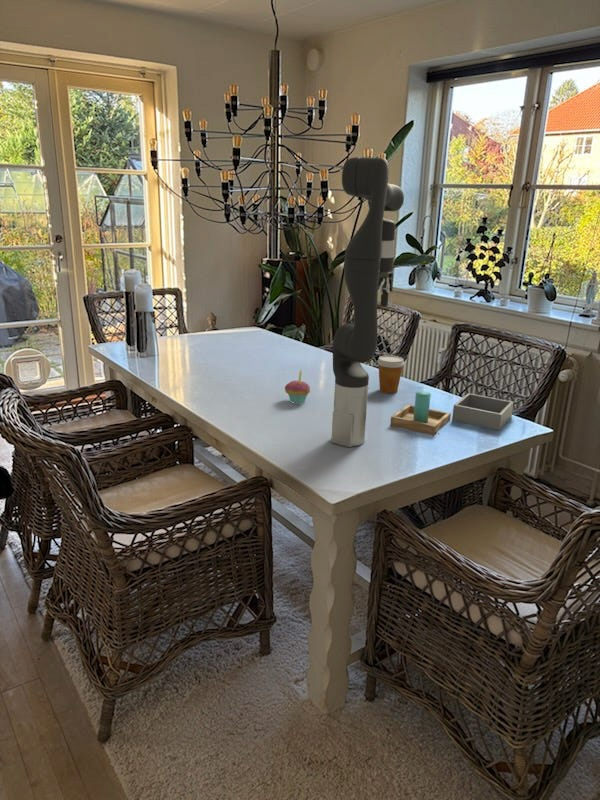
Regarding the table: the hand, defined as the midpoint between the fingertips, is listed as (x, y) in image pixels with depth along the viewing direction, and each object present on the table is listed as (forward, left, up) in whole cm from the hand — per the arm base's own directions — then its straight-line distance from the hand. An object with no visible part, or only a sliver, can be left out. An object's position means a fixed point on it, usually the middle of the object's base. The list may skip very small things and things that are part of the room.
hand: (378, 308), depth 191 cm
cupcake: (-10, +23, -33) cm, 42 cm away
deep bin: (+9, -34, -33) cm, 48 cm away
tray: (-5, -19, -33) cm, 39 cm away
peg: (-5, -19, -32) cm, 38 cm away
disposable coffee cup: (+20, +3, -33) cm, 39 cm away
